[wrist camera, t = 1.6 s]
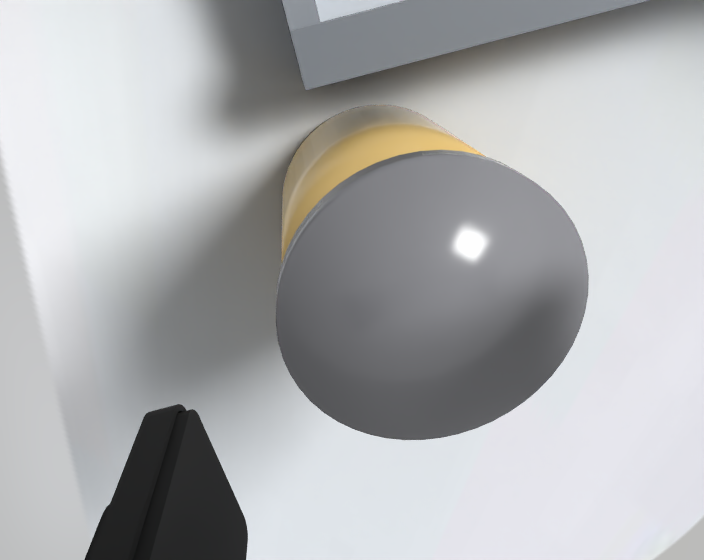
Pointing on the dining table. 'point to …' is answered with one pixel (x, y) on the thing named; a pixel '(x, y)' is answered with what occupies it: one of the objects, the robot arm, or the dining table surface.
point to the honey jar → (420, 277)
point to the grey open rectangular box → (416, 31)
